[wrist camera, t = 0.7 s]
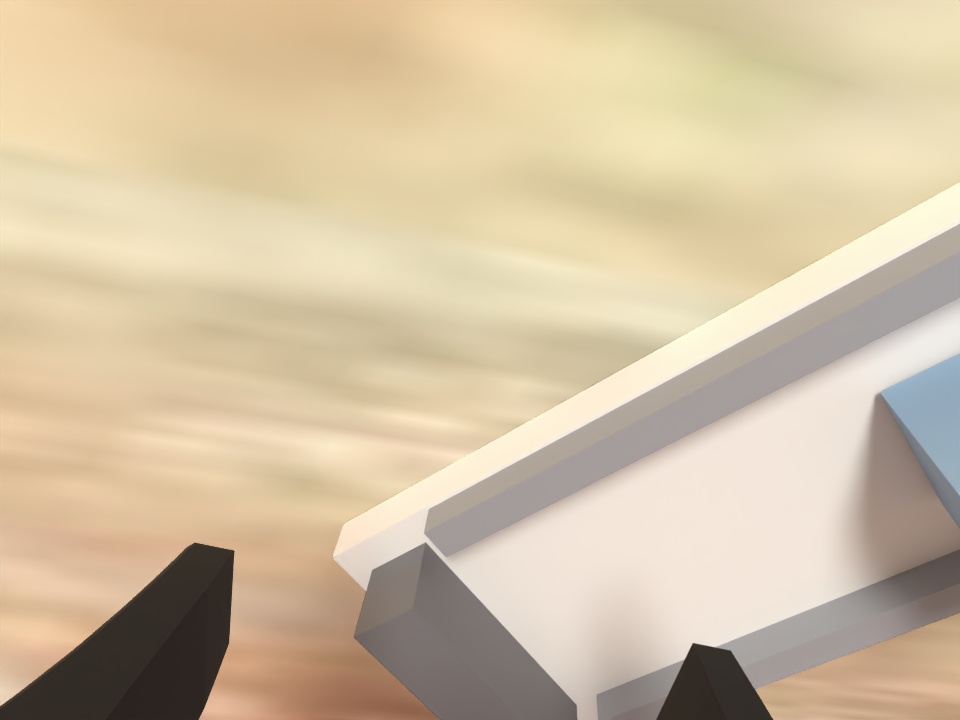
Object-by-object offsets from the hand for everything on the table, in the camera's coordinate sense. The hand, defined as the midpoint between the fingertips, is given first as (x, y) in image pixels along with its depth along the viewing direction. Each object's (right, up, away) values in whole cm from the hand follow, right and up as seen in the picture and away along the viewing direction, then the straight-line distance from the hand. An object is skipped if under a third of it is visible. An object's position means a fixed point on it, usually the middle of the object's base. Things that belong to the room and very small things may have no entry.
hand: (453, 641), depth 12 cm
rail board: (+8, +1, +10) cm, 13 cm away
